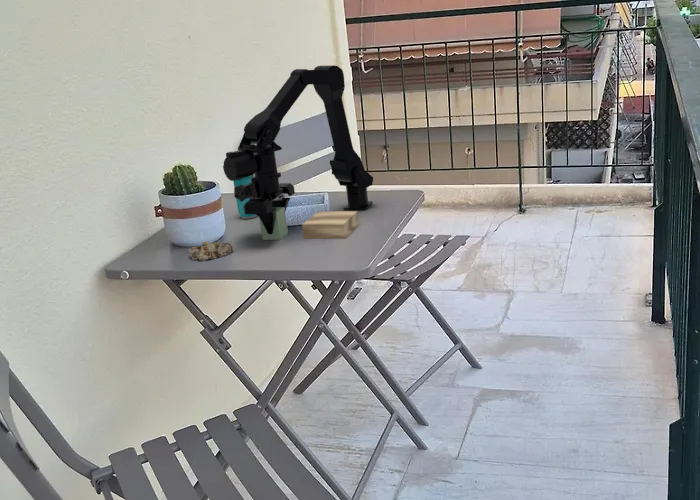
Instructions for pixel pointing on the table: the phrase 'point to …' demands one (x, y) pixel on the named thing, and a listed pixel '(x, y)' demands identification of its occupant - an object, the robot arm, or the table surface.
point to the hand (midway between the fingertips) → (274, 230)
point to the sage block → (276, 226)
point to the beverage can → (240, 204)
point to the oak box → (330, 224)
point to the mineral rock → (210, 251)
